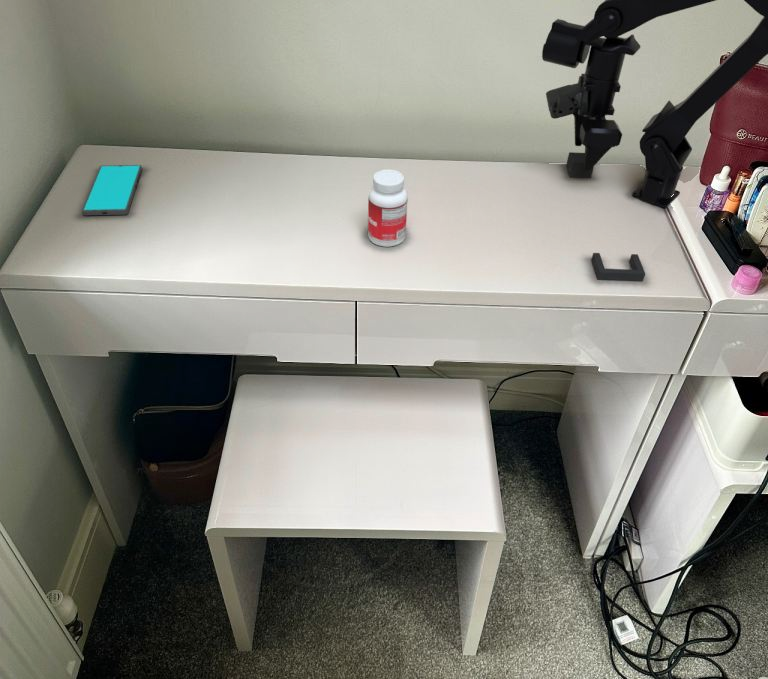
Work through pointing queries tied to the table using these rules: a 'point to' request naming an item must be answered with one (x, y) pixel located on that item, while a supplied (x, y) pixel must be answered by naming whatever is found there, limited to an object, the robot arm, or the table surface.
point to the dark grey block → (577, 166)
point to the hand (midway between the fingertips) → (582, 157)
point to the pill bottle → (387, 208)
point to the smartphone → (112, 190)
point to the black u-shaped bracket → (618, 270)
